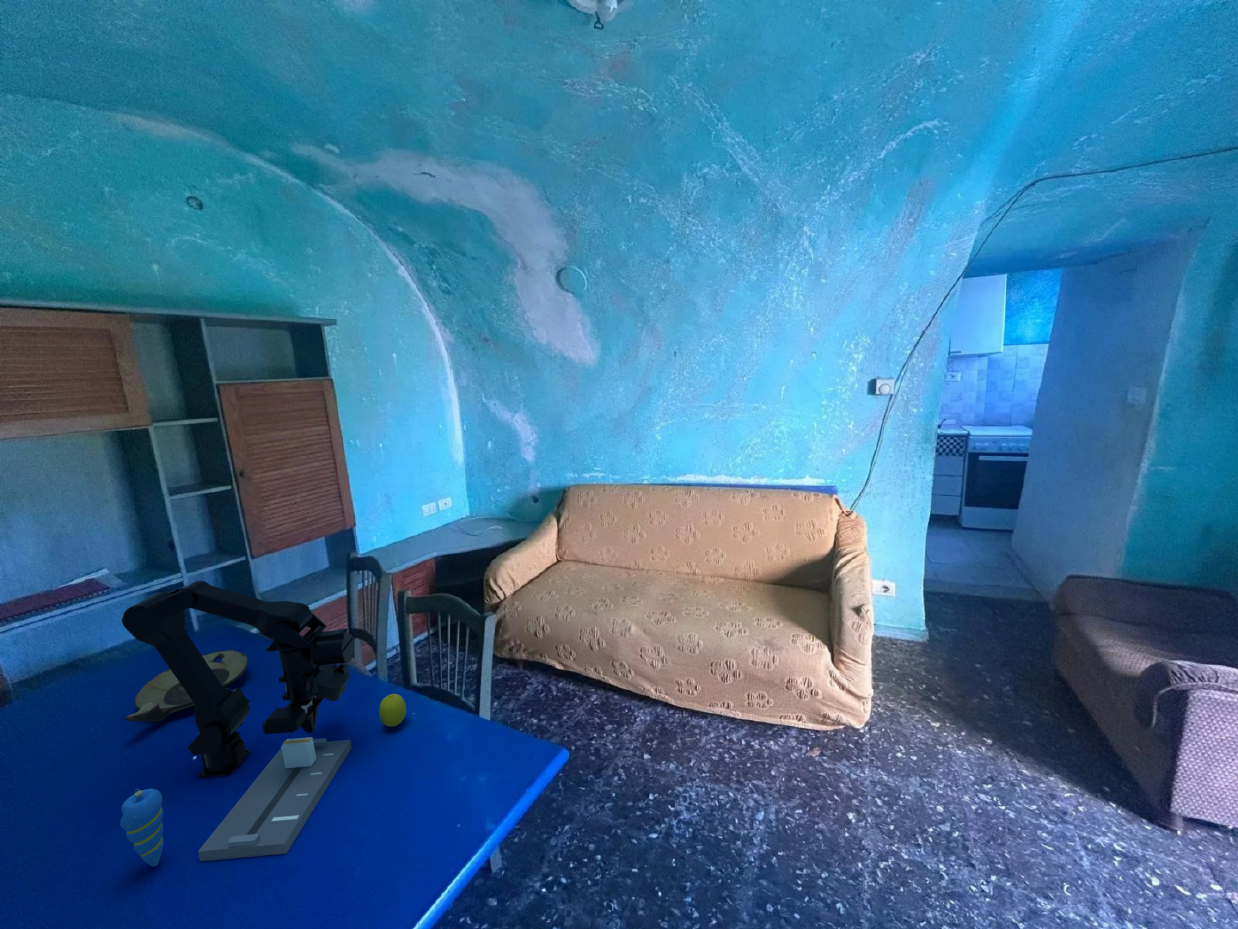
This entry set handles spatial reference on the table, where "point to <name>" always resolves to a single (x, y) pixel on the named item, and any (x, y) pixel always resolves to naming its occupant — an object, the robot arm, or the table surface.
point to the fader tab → (298, 752)
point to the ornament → (144, 824)
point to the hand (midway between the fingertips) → (311, 732)
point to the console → (275, 806)
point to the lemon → (392, 710)
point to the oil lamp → (170, 695)
